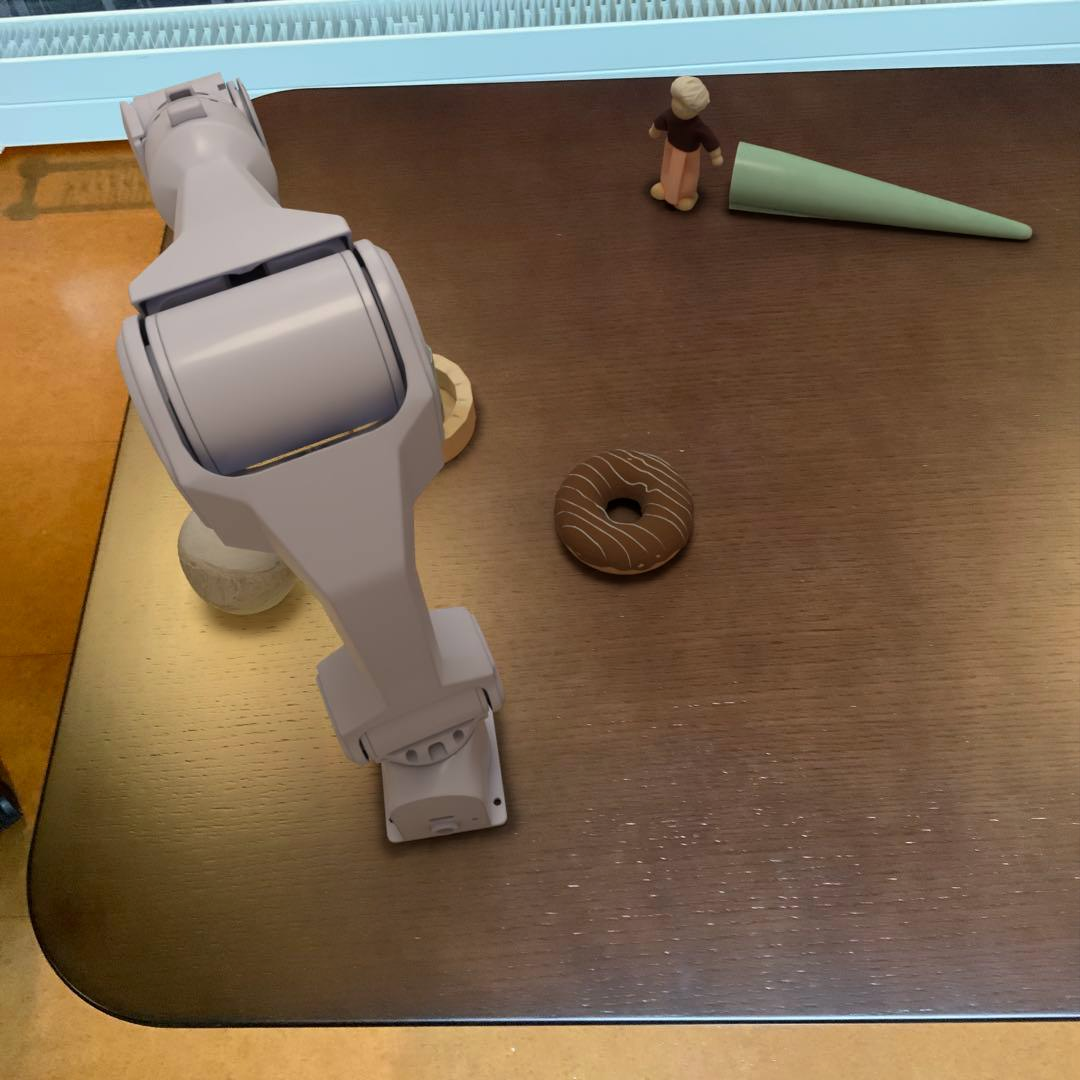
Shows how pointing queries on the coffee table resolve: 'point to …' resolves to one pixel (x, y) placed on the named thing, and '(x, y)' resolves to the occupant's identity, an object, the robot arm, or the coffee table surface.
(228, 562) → the decorative object
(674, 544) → the donut
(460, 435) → the holder
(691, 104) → the grandmother figurine
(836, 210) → the mint green cone
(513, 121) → the coffee table surface
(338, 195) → the coffee table surface
